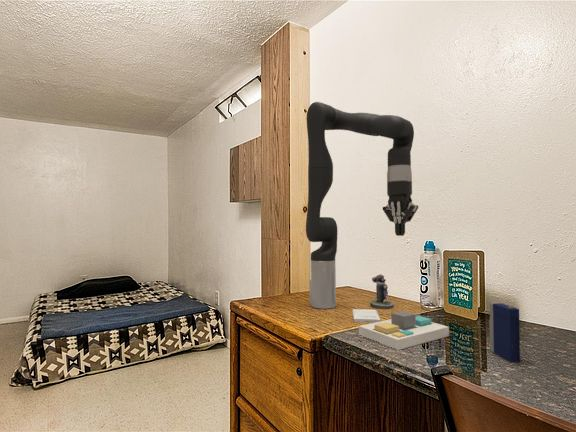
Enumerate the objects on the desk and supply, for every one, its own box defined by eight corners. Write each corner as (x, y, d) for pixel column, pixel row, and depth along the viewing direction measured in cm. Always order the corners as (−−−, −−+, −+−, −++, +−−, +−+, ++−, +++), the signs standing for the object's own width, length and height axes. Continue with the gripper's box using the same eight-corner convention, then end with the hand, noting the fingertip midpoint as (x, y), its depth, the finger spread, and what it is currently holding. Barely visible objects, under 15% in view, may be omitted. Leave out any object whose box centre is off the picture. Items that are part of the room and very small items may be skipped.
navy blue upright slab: (520, 362, 80) (519, 307, 80) (510, 362, 80) (509, 308, 80) (498, 350, 88) (497, 300, 88) (489, 350, 87) (488, 301, 88)
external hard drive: (376, 314, 125) (380, 324, 113) (352, 313, 126) (354, 323, 114) (376, 309, 125) (380, 319, 113) (352, 309, 126) (353, 318, 114)
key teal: (407, 328, 104) (407, 317, 104) (418, 325, 106) (417, 315, 106) (420, 332, 100) (420, 321, 100) (431, 329, 102) (431, 318, 102)
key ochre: (374, 335, 97) (374, 324, 97) (386, 333, 99) (386, 322, 99) (387, 340, 93) (386, 328, 93) (399, 337, 95) (399, 326, 96)
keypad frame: (358, 335, 100) (358, 324, 100) (408, 323, 111) (407, 314, 111) (398, 350, 88) (397, 337, 88) (449, 336, 99) (448, 325, 99)
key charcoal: (391, 323, 100) (391, 313, 100) (402, 321, 103) (402, 310, 103) (404, 327, 97) (404, 316, 97) (415, 325, 99) (415, 314, 99)
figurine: (371, 308, 130) (371, 275, 131) (369, 303, 139) (368, 272, 139) (395, 309, 130) (395, 275, 130) (391, 303, 138) (391, 272, 138)
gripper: (375, 182, 118) (376, 235, 118) (408, 177, 107) (408, 236, 106) (391, 183, 122) (392, 234, 122) (424, 179, 111) (425, 235, 110)
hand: (400, 235), depth 114 cm, fingers closed
